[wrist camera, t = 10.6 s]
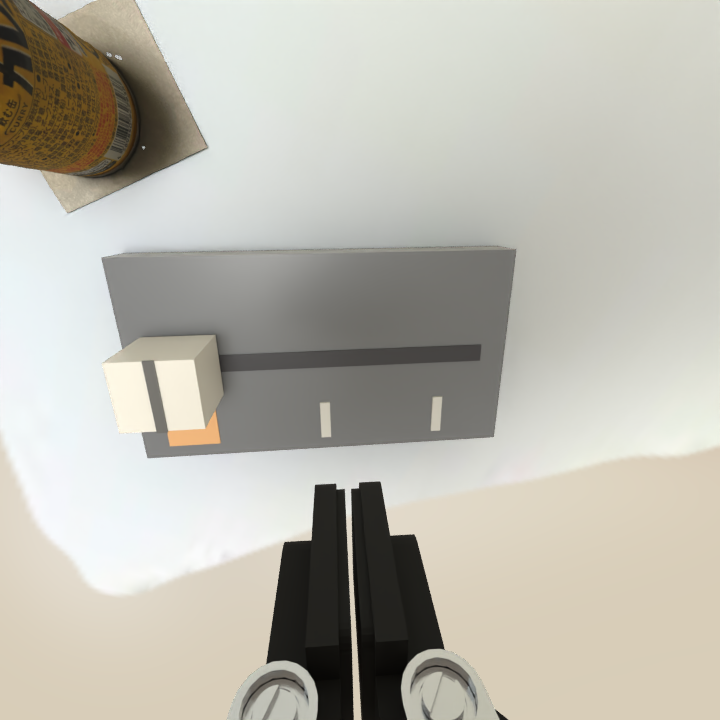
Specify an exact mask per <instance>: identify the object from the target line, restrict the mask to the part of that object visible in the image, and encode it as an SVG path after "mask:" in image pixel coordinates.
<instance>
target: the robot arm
mask: <svg viewBox="0 0 720 720" xmlns="http://www.w3.org/2000/svg"><path fill="white" fill-rule="evenodd" d="M351 501H352V543H353V544H352V545H353V580H354V597H355V614H356V631H357V647H358V648H357V649H358V664H359V682H360V699H361V717H362V720H508V719H507V718H505V717H504V716H503V715H501V714H500V713H499V712H498V711H496V710H495V709H494V707H493V704H492V702H491V700H490V698H489V695H488V693H487V691H486V689H485V687H484V685H483V682H482V681H481V679H480V677H479V676H478V674H477V672H476V671H475V670H474V668H473V667H472V666H471V665H470V664H469V663H468V662H467V661H466V660H465V659H464V658H462V657H460V656H458V655H457V654H455V653H453V652H450V651H447V650H445V649H444V645H443V641H442V637H441V633H440V629H439V625H438V622H437V618H436V614H435V610H434V606H433V602H432V598H431V594H430V590H429V586H428V582H427V579H426V575H425V571H424V567H423V563H422V559H421V555H420V551H419V548H418V543H417V540H416V537H415V535H414V534H413V535H398V536H397V535H396V536H390V533H389V528H388V522H387V516H386V510H385V504H384V499H383V493H382V487H381V483H380V482H361V483H359V489H351ZM346 531H347V530H346V508H345V489H340V490H336V484H322V485H315V493H314V510H313V527H312V541H295V542H285V543H284V545H283V551H282V558H281V565H280V572H279V579H278V586H277V593H276V600H275V607H274V614H273V621H272V628H271V635H270V642H269V649H268V656H267V663H266V665H264V666H261V667H260V668H258V669H257V670H256V671H254V672H253V673H252V674H250V675H249V676H248V678H247V679H246V680H245V681H244V683H243V684H242V685H241V686H240V688H239V690H238V692H237V694H236V696H235V698H234V700H233V702H232V705H231V708H230V711H229V714H228V717H227V720H354V715H353V675H352V641H351V616H350V598H349V597H350V595H349V575H348V551H347V532H346Z"/></svg>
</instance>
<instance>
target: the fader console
mask: <svg viewBox="0 0 720 720" xmlns="http://www.w3.org/2000/svg"><path fill="white" fill-rule="evenodd" d="M515 257H516V249H511V248H506V247H500V246H474V247H422V248H370V249H317V250H265V251H213V252H161V253H123V254H118V255H113V256H108V257H103V258H102V262H103V267H104V271H105V275H106V280H107V284H108V288H109V293H110V297H111V301H112V306H113V310H114V314H115V319H116V323H117V328H118V332H119V336H120V341H121V345H122V349H124V348H125V347H126V346H128V345H129V344H131V343H132V342H134V341H135V340H137V339H138V338H140V337H165V336H193V335H216V342H217V349H218V356H219V363H220V370H221V377H222V384H223V391H224V395H223V397H222V398H221V400H220V402H219V404H218V406H217V408H216V410H215V412H214V413H213V415H212V417H211V419H210V421H209V423H208V425H207V427H206V428H205V429H192V430H174V431H168V433H157V432H142V436H143V440H144V445H145V449H146V454H147V458H159V457H175V456H192V455H208V454H225V453H241V452H257V451H274V450H290V449H306V448H323V447H339V446H356V445H372V444H388V443H405V442H421V441H437V440H454V439H470V438H487V437H494V430H495V421H496V413H497V405H498V397H499V388H500V380H501V372H502V364H503V355H504V347H505V339H506V331H507V322H508V314H509V306H510V298H511V290H512V281H513V273H514V265H515Z"/></svg>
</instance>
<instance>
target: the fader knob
mask: <svg viewBox="0 0 720 720" xmlns="http://www.w3.org/2000/svg"><path fill="white" fill-rule="evenodd" d="M102 366H103V370H104V374H105V378H106V382H107V386H108V390H109V394H110V398H111V402H112V406H113V410H114V414H115V417H116V421H117V425H118V429H119V433H120V434H121V433H139V432H157V433H168V431H174V430H192V429H205V428H206V427H207V425H208V423H209V421H210V419H211V417H212V415H213V413H214V412H215V410H216V408H217V406H218V404H219V402H220V400H221V398H222V397H223V395H224V391H223V384H222V377H221V370H220V363H219V356H218V349H217V342H216V335H193V336H165V337H140V338H138V339H137V340H135V341H134V342H132V343H131V344H129V345H128V346H126V347H125V348H124V349H122V350H121V351H119V352H118V353H116V354H115V355H113V356H112V357H110V358H109V359H108V360H106V361H105V362H103V363H102Z"/></svg>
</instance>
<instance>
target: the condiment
mask: <svg viewBox="0 0 720 720" xmlns="http://www.w3.org/2000/svg"><path fill="white" fill-rule="evenodd" d="M106 52H109V53H111V54H112V57H108V56H107V55H106ZM115 55H119V56H121V57H122V60H118V59H116V58H115V57H114V56H115ZM142 146H145V149H144V150H143V148H142ZM205 148H207V146H206V144H205V142H204V140H203V138H202V136H201V134H200V132H199V129H198V127H197V125H196V123H195V121H194V119H193V117H192V115H191V113H190V111H189V109H188V107H187V105H186V103H185V101H184V99H183V96H182V94H181V92H180V90H179V89H178V87H177V85H176V82H175V80H174V78H173V76H172V74H171V72H170V70H169V68H168V66H167V64H166V62H165V61H164V58H163V56H162V54H161V52H160V50H159V48H158V47H157V45H156V43H155V41H154V39H153V37H152V35H151V33H150V30H149V28H148V26H147V24H146V22H145V20H144V18H143V16H142V15H141V13H140V11H139V9H138V7H137V5H136V3H135V1H134V0H97V1H94V2H91V3H89V4H87V5H86V6H84V7H83V8H81V9H79V10H77V11H75V12H72V13H69V14H67V15H66V16H65V17H63V18H61V19H58V20H56V19H54V18H53V17H51V16H50V15H49V14H47V13H45V12H44V11H43V10H41V9H40V8H38V7H37V6H36V5H35V4H34V3H32V2H31V1H29V0H0V164H5V165H13V166H18V167H24V168H29V169H37V170H40V171H41V172H42V174H43V176H44V178H45V179H46V181H47V182H48V184H49V186H50V188H51V189H52V190H53V192H54V194H55V195H56V197H57V198H58V200H59V201H60V203H61V205H62V206H63V208H64V209H65V210H66V212H67V213H69V212H71V211H73V210H75V209H78V208H80V207H82V206H84V205H86V204H89V203H91V202H93V201H95V200H97V199H100V198H102V197H103V196H106V195H108V194H110V193H113V192H115V191H117V190H119V189H121V188H123V187H125V186H127V185H129V184H131V183H133V182H135V181H138V180H140V179H142V178H143V177H145V176H147V175H149V174H151V173H153V172H156V171H158V170H161V169H163V168H165V167H167V166H169V165H171V164H174V163H176V162H178V161H180V160H182V159H184V158H185V157H187V156H189V155H192V154H194V153H196V152H198V151H200V150H203V149H205Z"/></svg>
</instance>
